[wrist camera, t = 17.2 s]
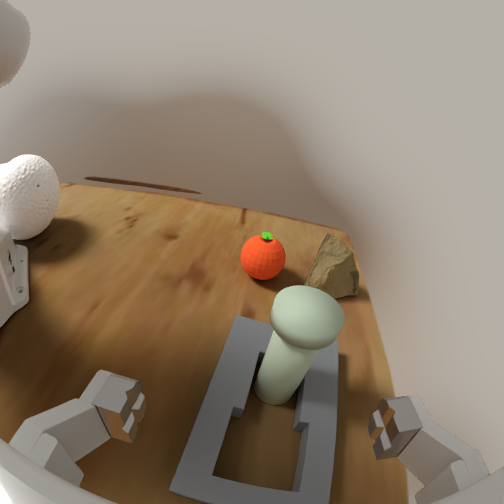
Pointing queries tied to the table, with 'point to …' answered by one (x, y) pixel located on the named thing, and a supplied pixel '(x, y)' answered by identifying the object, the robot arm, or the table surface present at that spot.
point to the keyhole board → (232, 404)
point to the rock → (334, 269)
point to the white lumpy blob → (27, 196)
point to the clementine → (263, 256)
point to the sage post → (296, 340)
